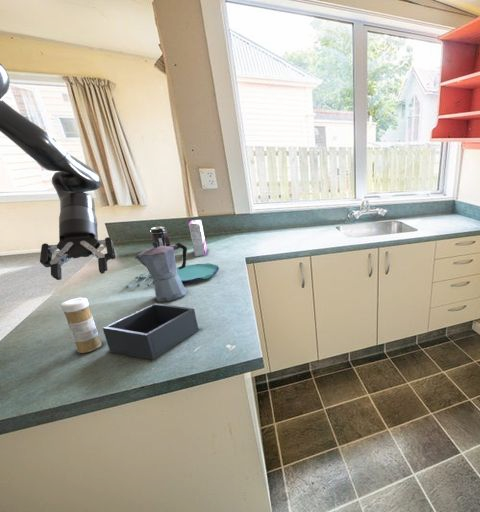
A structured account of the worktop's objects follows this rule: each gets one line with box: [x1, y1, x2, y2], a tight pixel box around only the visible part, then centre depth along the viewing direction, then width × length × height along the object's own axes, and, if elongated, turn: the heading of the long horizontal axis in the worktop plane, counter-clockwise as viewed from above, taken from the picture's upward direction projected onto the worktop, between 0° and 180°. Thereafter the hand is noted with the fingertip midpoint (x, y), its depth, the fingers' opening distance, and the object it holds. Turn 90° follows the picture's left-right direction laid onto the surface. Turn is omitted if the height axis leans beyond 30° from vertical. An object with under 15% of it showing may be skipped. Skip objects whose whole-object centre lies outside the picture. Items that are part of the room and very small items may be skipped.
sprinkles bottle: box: [60, 297, 103, 354], centre depth 73 cm, size 5×5×13 cm
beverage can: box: [150, 226, 171, 247], centre depth 155 cm, size 7×7×12 cm
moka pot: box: [134, 242, 188, 302], centre depth 102 cm, size 10×15×20 cm, turn 155°
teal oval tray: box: [125, 262, 220, 289], centre depth 120 cm, size 20×30×2 cm, turn 109°
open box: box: [102, 302, 199, 360], centre depth 78 cm, size 14×14×7 cm
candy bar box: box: [187, 219, 208, 257], centre depth 149 cm, size 11×5×16 cm, turn 26°
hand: (80, 275), depth 78 cm, fingers open, 8 cm apart
